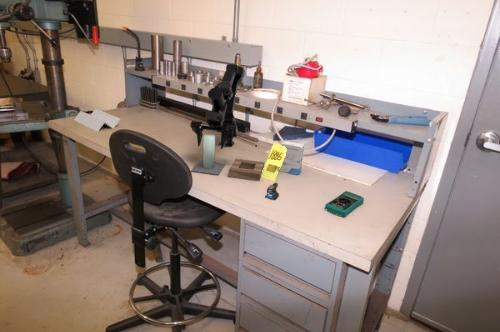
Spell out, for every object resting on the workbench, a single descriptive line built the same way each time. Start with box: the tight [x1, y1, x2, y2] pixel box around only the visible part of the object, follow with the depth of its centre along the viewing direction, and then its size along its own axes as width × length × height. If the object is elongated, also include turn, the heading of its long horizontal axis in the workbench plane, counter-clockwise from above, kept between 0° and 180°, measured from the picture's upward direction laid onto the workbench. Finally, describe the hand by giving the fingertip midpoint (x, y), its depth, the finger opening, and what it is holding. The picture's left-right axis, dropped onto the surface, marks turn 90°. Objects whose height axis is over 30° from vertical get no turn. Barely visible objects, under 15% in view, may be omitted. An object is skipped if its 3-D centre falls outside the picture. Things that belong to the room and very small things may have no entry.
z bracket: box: [73, 108, 121, 132], centre depth 181 cm, size 12×25×6 cm
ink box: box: [279, 140, 305, 176], centre depth 138 cm, size 9×5×12 cm, turn 65°
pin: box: [202, 133, 216, 169], centre depth 135 cm, size 4×4×13 cm
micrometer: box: [264, 182, 280, 201], centre depth 122 cm, size 12×2×5 cm
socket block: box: [228, 158, 265, 182], centre depth 135 cm, size 12×12×3 cm
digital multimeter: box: [324, 190, 365, 217], centre depth 116 cm, size 7×15×3 cm, turn 138°
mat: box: [190, 160, 226, 176], centre depth 138 cm, size 11×11×1 cm
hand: (209, 147), depth 136 cm, fingers open, 9 cm apart
